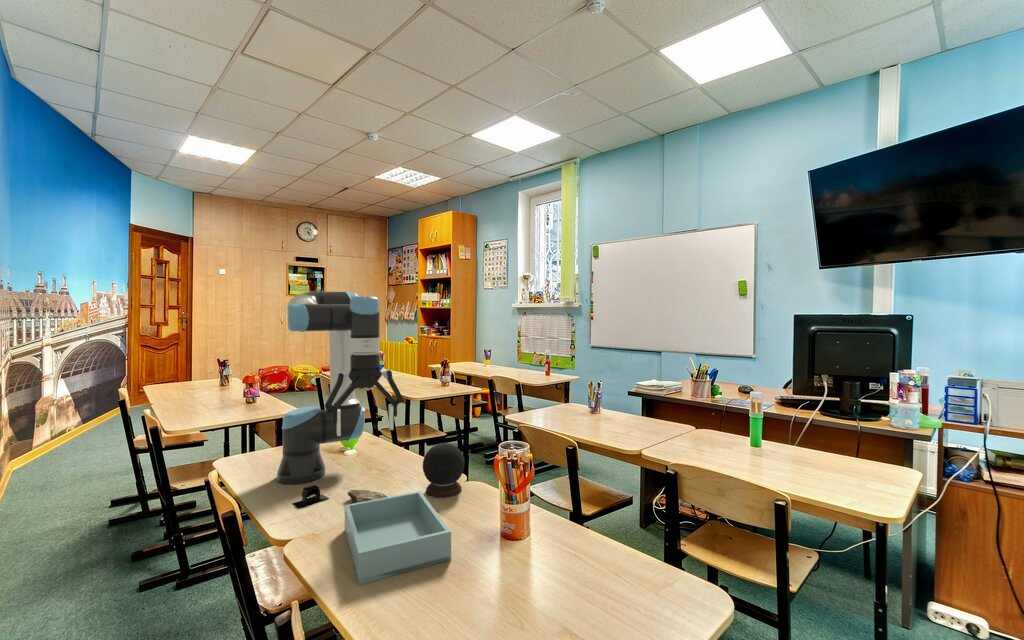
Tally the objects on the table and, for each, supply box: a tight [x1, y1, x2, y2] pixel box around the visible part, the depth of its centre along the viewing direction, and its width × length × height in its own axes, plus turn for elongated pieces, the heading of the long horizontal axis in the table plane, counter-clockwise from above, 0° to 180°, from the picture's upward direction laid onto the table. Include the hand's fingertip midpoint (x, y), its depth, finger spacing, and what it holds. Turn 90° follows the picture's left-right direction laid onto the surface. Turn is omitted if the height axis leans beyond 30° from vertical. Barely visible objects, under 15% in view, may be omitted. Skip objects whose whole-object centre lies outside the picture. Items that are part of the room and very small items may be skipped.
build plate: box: [290, 484, 331, 510], centre depth 132 cm, size 12×7×5 cm, turn 138°
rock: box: [347, 489, 389, 504], centre depth 128 cm, size 18×11×4 cm, turn 76°
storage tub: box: [344, 490, 452, 585], centre depth 107 cm, size 26×20×6 cm
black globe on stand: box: [422, 442, 465, 499], centre depth 139 cm, size 13×13×15 cm
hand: (365, 431), depth 119 cm, fingers open, 13 cm apart
